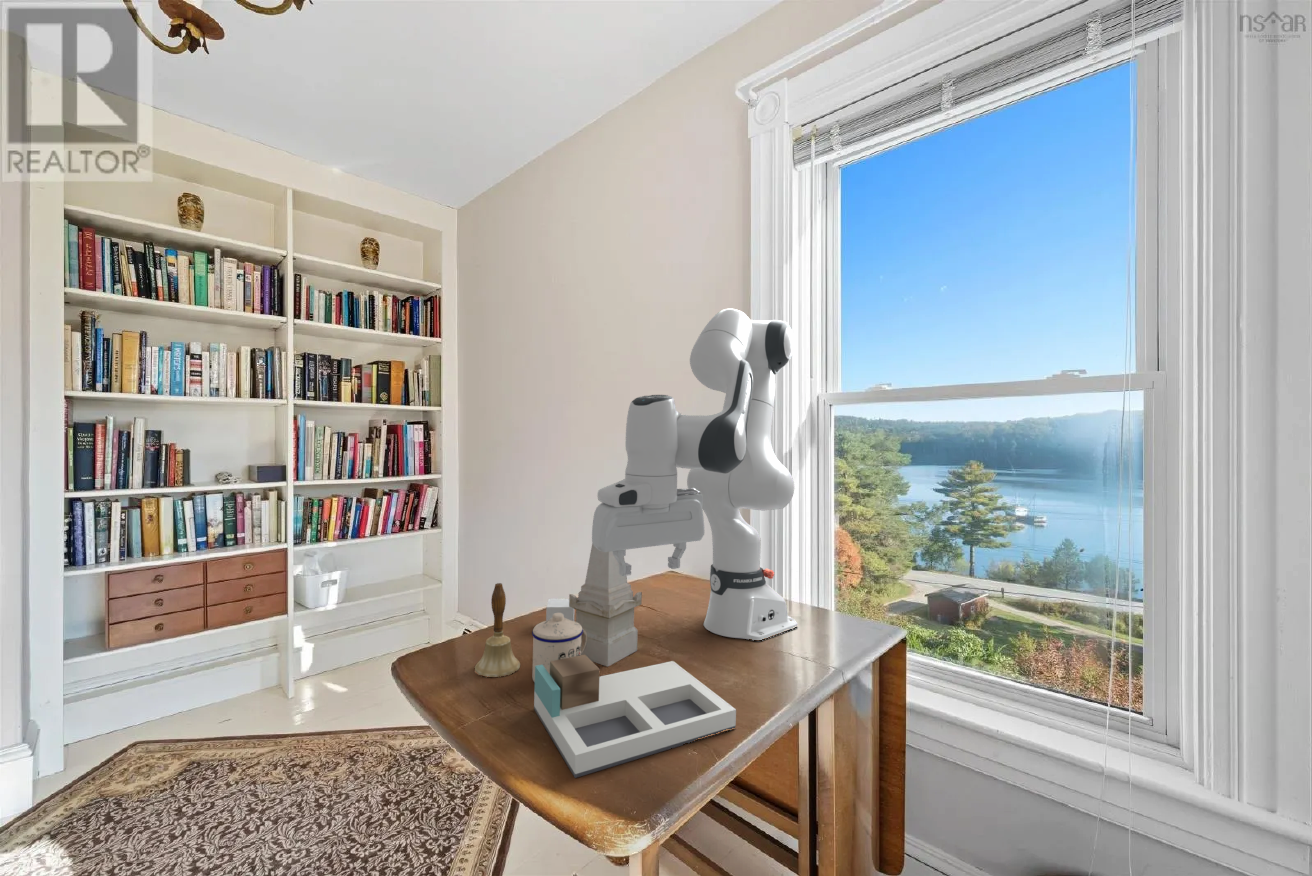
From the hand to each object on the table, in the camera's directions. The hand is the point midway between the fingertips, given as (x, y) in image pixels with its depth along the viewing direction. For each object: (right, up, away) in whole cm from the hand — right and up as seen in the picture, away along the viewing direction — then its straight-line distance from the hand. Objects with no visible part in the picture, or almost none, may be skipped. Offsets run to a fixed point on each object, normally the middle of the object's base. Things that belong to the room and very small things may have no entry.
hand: (650, 571), depth 90 cm
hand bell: (-29, -21, +10) cm, 37 cm away
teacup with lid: (-16, -21, +7) cm, 28 cm away
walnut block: (-12, -18, -6) cm, 23 cm away
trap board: (-3, -22, -7) cm, 23 cm away
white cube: (-21, -21, +30) cm, 42 cm away
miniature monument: (-10, -21, +18) cm, 29 cm away
